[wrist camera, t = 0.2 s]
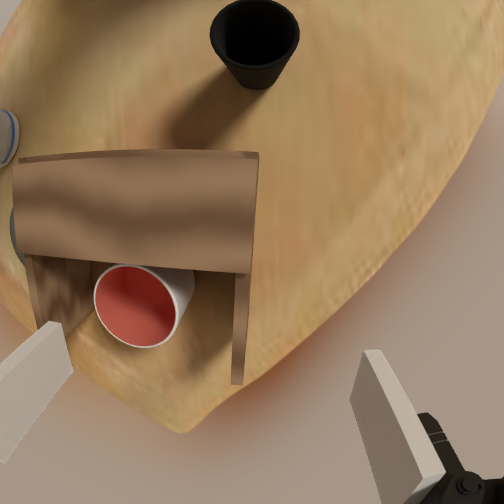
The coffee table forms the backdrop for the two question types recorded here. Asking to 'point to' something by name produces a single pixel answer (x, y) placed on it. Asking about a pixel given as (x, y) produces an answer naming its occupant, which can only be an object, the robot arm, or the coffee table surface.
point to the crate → (134, 223)
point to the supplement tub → (8, 136)
